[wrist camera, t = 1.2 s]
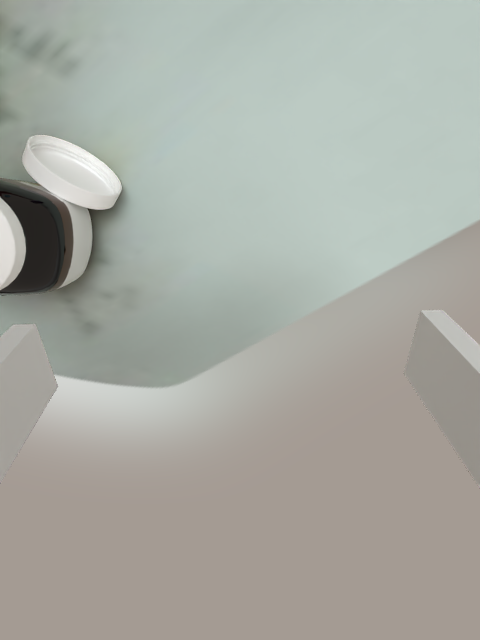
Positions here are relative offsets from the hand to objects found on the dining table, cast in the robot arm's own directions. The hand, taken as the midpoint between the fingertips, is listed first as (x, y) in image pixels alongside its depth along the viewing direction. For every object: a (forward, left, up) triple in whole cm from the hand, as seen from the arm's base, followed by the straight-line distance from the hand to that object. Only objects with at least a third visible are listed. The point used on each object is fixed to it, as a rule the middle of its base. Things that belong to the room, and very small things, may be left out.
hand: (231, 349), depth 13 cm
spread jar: (-12, -8, -22) cm, 26 cm away
